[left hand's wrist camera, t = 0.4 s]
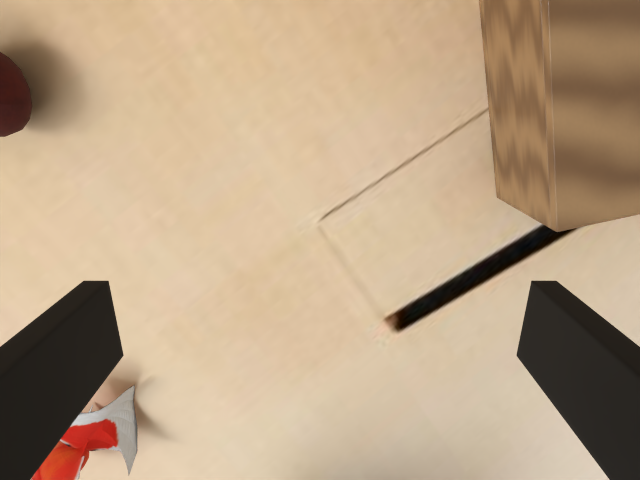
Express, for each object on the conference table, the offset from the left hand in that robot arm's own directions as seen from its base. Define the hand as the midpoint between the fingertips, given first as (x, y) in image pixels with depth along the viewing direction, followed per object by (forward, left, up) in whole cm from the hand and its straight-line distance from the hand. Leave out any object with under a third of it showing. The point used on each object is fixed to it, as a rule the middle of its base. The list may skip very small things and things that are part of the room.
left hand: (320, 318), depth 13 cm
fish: (-30, +26, -27) cm, 48 cm away
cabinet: (+8, -20, -27) cm, 35 cm away
